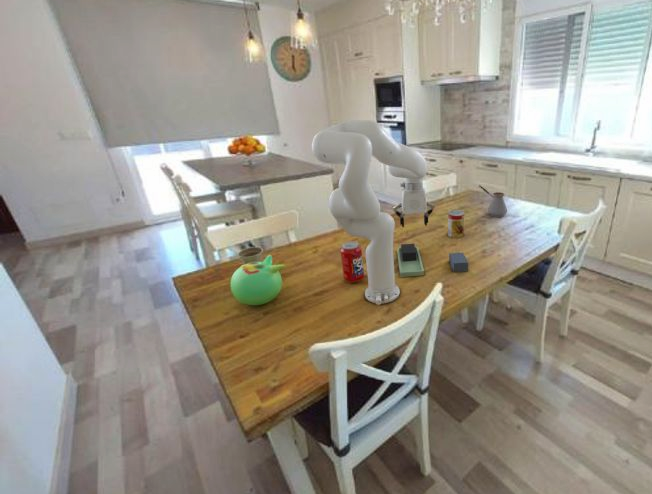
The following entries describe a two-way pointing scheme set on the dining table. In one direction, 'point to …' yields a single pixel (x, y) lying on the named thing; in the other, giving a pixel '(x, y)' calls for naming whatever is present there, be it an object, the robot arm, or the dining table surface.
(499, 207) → the coffee pot
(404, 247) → the pad charcoal
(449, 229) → the canned food
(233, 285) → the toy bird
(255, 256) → the flower pot
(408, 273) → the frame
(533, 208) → the dining table surface
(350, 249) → the soda can
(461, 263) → the pad slate
